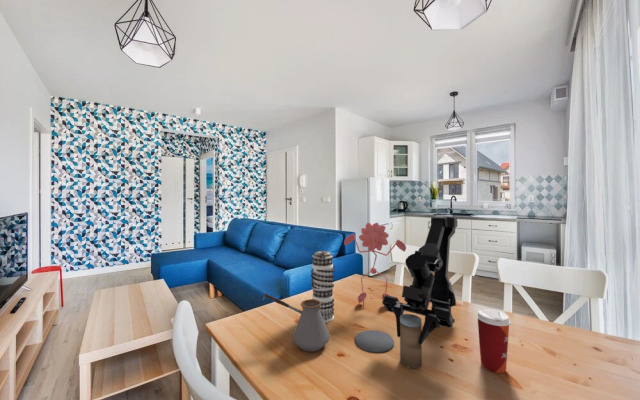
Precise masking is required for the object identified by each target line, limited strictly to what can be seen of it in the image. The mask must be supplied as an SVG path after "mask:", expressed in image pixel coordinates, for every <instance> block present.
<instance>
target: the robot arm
mask: <svg viewBox="0 0 640 400" xmlns="http://www.w3.org/2000/svg"><path fill="white" fill-rule="evenodd" d="M456 228H458V219H457V218H455V216H454V215H452V214H451V215H449V214H448V215H446V214H444V215H443V214H436V215H435V216H431V217H430V227H429V230H428V233H427V235H426V236H427V237H426V240H425V243H424V245H422V246H421V247H419V248H418V250H415V252H414V253H412V254H410V255H408V257H406V259H405V263H404V264H405V265H406V268H407V271H408V273H409V274H410V277H411V278H413V279H412V284H410V285H409V286H407V285H403V286H402V291H401V292H402V294H401V298H404V301H405V302H406V303H403V302H400V300H399V298H398V297H397V296H393V295H392V296H391V295H390V296H388V295H386V296H385V297H384V298H383V299H382V302H381V303H382V306H384V308H386V309H387V310H386V311H387V312H390V313H393V314H394V316H395V322H396V323H395V325H396V337H397V338H400V316H401V315H404V312H409V313H411V314H412V313H413V314H416V315H420V316H424V323H423V326H422V332H421V335H420V340H419V344H420V345H422V346H423V344H424V342H425V341H426V340H427V338H428V337H429V335H431V334H432V332H434V331H435V330H436V328H437V329H440V328H441V326H442V327H445V328H449V329H452V328H453V325H454V322H455V321H456V320H455V318H454V317H453V315H452V308H453V307H456V305H457V304H456V303H457V300H456V295H455V292H454V289H453V285H452V282H451V281H450V278H449V277H448V276H449V275H448V274H449V264H450V263H449V262H450V261H449V260H450V245H451V239H452V237H453V236H454V235H455V233H456ZM433 272H434V273H433ZM430 303H431V309H429V304H430Z"/></svg>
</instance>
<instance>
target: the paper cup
mask: <svg viewBox="0 0 640 400" xmlns="http://www.w3.org/2000/svg"><path fill="white" fill-rule="evenodd" d="M475 317H476V318H477V329H478V342H479V345H478V346H479V354H480V355H479V357H480V365H481V366H482V367H483V368H484V369H485V370H487V371H488V372H492V373H495V374H504V373H506V370H507V364H508V361H507V360H508V348H509V347H508V346H509V335H510V334H509V330H510V325H511V320H510V318H509V316H508V315H507V314H506V313H504V312H502V311H500V310H499V311H498V310H495V309H488V308H484V309H479V310H478V311H477V314H476V315H475Z"/></svg>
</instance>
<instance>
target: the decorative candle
mask: <svg viewBox="0 0 640 400" xmlns="http://www.w3.org/2000/svg"><path fill="white" fill-rule="evenodd" d="M311 257H312V264H311V266H312V267H311V270H310V273H311V274H310V277H311V285H310V286H311V288H312V299H315V300H318V301H320V302H321V306H320V308H319V310H320V313H321V315H322V317H323V320H324V322H325V324H327V323H330V322H332V321H333V320H335V312H334V311H335V308H334V306H335V299H334V293H333V291H334V287H335V284H334V283H333V282H335V279H334V278H335V274H333V273H334V272H335V270H336V269H335V266H334V263H333V257H334V255H333V254H331V252H330V251H327V250H319V251H315V252H314V254H312V255H311Z"/></svg>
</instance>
